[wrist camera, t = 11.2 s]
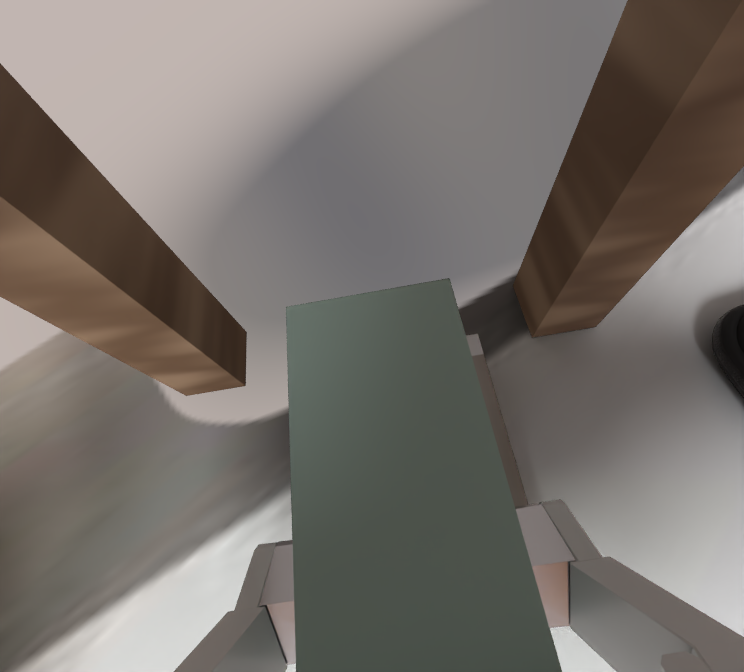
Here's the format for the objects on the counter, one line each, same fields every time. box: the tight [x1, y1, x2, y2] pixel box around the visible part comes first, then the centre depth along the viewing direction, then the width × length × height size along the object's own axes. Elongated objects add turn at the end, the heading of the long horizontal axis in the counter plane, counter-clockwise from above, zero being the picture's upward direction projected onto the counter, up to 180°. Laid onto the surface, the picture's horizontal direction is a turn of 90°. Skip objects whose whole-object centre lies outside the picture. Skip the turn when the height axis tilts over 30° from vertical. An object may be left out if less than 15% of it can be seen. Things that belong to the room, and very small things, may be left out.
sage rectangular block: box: [286, 278, 562, 672], centre depth 11 cm, size 4×8×9 cm, turn 8°
